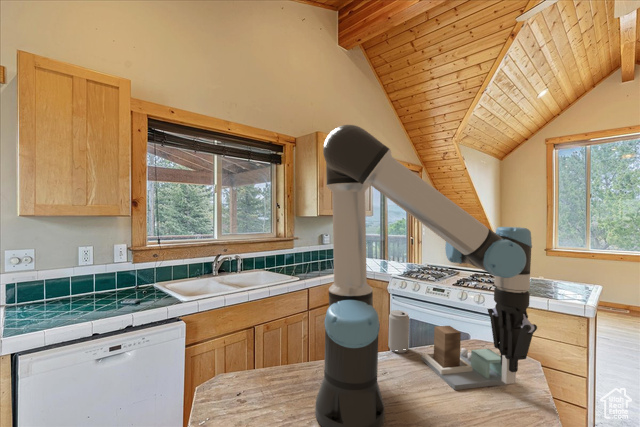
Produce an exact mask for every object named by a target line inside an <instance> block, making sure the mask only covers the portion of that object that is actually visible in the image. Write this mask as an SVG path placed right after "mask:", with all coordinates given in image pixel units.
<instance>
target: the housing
mask: <svg viewBox="0 0 640 427" xmlns="http://www.w3.org/2000/svg"><path fill="white" fill-rule="evenodd" d="M470 351H471V352H470V353H471V366H472V367H473V369H474V370H476V371H477V372H478V373H480V374H481V375H482V376H484V377H485V378H486V379H488V378H489V372H490V369H491V370H493V371H494V372H496V373H497V374H499V375H500V376H502V366H501V354H498V353H497V352H495V351H494V350H492V349H490V348H480V349H471V350H470Z"/></svg>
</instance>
